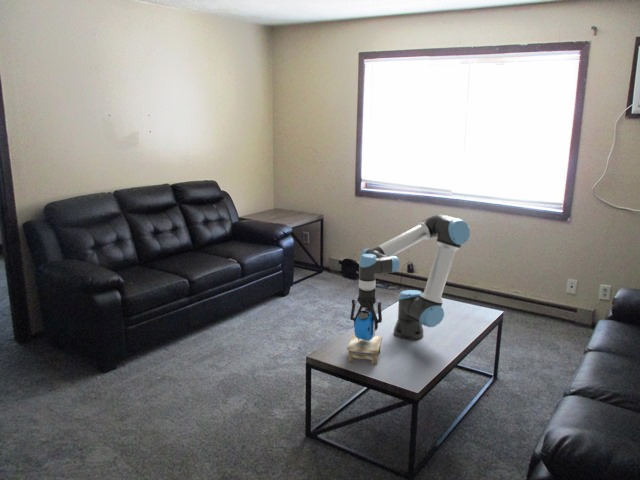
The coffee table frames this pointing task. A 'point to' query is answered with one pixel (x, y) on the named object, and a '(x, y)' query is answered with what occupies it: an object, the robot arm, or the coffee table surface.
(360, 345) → the stool
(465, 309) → the coffee table surface
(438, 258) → the robot arm
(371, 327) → the alarm clock
